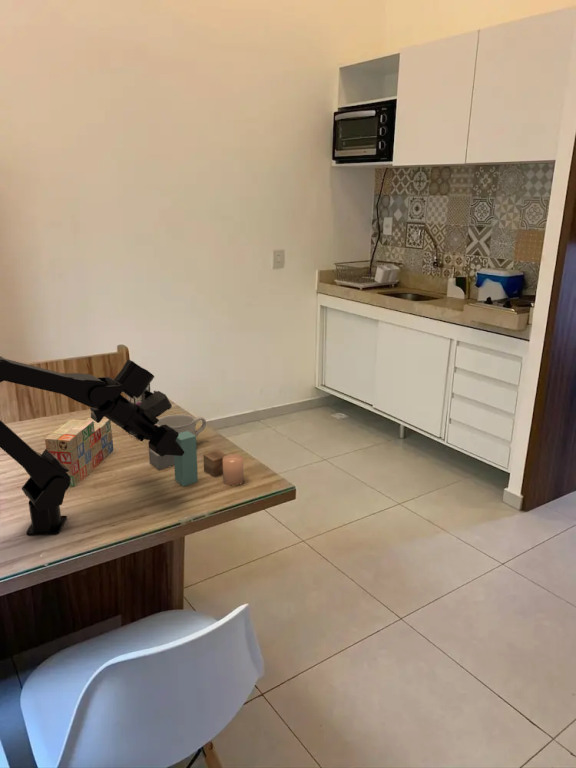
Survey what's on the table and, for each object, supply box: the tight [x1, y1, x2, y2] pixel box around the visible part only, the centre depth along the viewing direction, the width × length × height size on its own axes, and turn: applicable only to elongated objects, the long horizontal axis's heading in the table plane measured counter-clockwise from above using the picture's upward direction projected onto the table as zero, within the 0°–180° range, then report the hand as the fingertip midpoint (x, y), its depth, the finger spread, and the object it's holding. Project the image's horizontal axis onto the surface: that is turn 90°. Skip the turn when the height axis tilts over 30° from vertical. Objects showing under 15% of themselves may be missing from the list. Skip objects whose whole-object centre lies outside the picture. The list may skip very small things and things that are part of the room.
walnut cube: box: [202, 449, 227, 478], centre depth 145 cm, size 4×4×4 cm
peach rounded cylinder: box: [222, 453, 245, 486], centre depth 140 cm, size 5×5×6 cm
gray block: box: [148, 448, 174, 471], centre depth 149 cm, size 5×5×4 cm
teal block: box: [173, 431, 199, 487], centre depth 139 cm, size 4×4×12 cm
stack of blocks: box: [44, 417, 114, 488], centre depth 146 cm, size 21×6×12 cm, turn 171°
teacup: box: [154, 413, 207, 438], centre depth 159 cm, size 14×11×8 cm
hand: (173, 447), depth 136 cm, fingers open, 9 cm apart
